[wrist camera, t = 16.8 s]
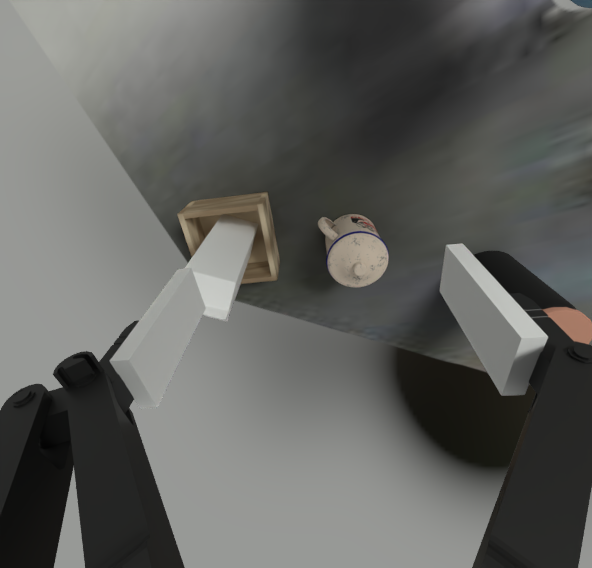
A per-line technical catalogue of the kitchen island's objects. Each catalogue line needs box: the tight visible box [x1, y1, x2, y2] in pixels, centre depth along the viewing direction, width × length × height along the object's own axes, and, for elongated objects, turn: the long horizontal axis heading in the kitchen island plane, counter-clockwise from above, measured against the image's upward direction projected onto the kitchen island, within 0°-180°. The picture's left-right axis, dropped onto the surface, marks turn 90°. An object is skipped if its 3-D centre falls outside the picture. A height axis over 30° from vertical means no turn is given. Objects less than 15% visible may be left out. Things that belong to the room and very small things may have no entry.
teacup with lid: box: [318, 214, 389, 287], centre depth 47 cm, size 12×9×12 cm
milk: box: [185, 214, 258, 322], centre depth 43 cm, size 6×6×22 cm
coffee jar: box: [474, 251, 592, 344], centre depth 48 cm, size 11×11×18 cm
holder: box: [177, 192, 280, 284], centre depth 50 cm, size 13×13×6 cm
